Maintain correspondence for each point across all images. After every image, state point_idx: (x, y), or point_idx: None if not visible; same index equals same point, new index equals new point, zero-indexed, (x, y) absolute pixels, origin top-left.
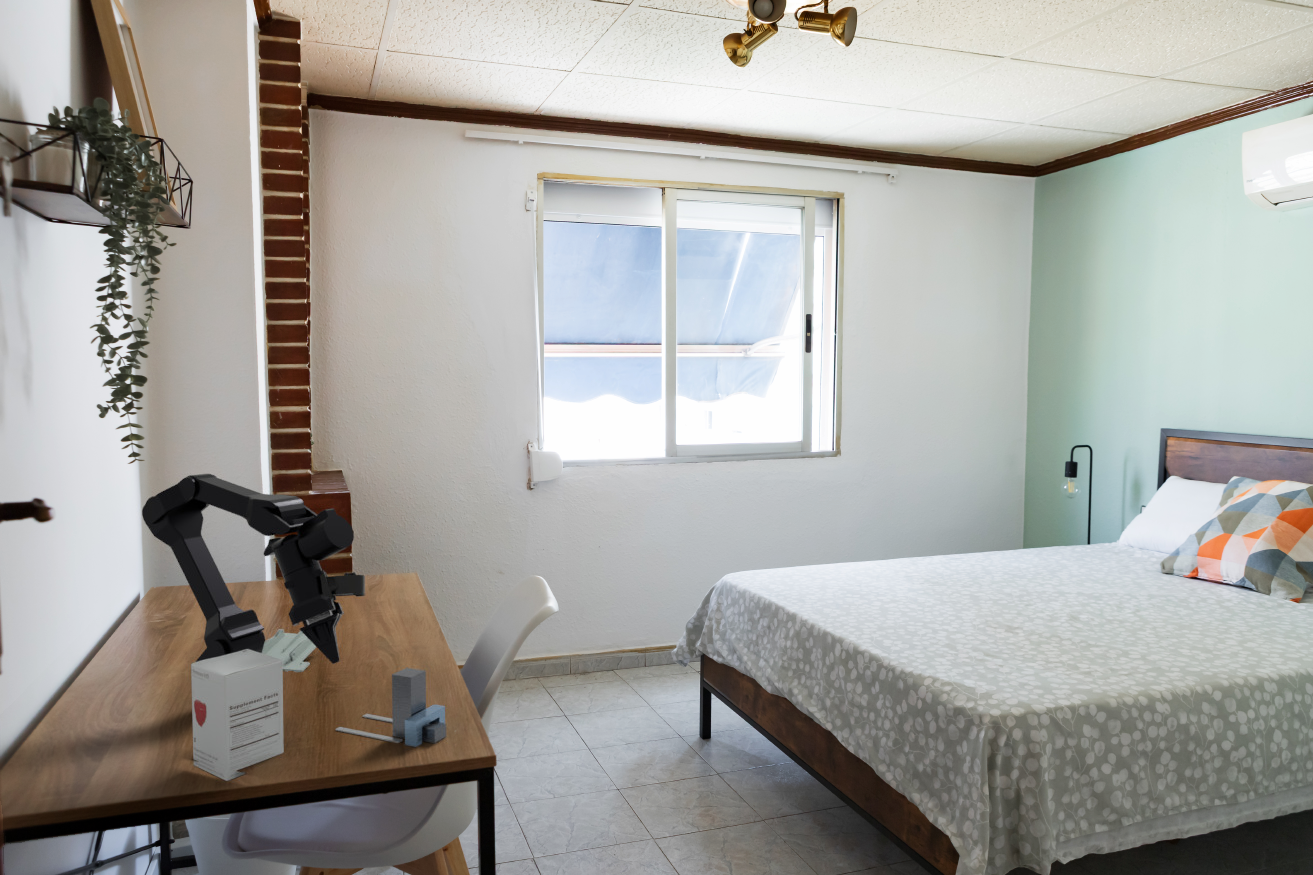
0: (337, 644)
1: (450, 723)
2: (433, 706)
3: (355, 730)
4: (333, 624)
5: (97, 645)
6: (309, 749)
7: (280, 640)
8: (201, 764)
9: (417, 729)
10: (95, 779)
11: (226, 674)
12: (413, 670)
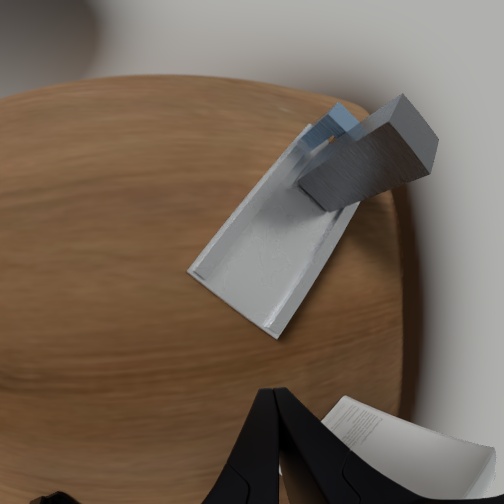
0: (243, 442)
1: (248, 108)
2: (338, 119)
3: (296, 289)
4: (440, 500)
5: None
6: (316, 367)
7: None
8: None
9: None
10: None
11: (494, 478)
12: (404, 115)
